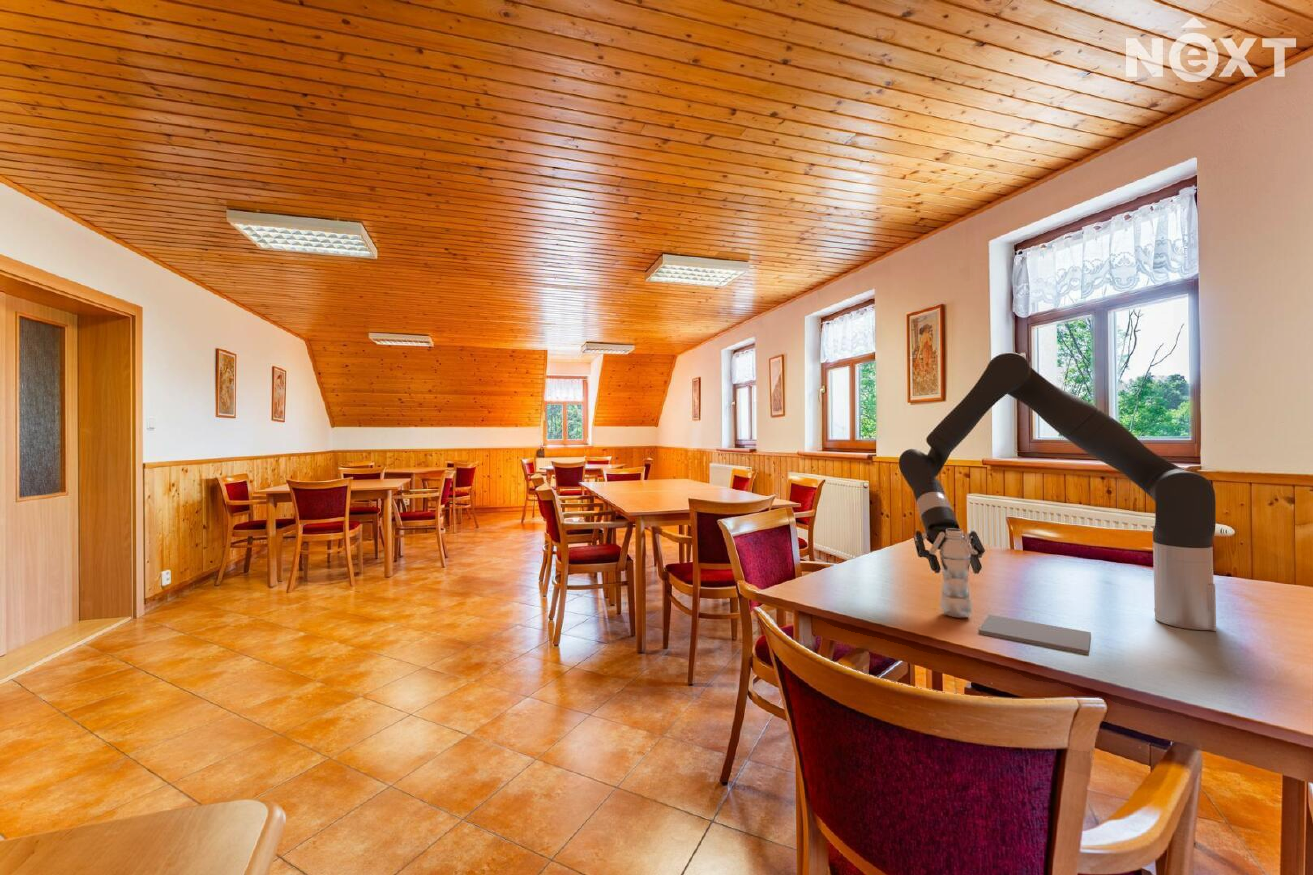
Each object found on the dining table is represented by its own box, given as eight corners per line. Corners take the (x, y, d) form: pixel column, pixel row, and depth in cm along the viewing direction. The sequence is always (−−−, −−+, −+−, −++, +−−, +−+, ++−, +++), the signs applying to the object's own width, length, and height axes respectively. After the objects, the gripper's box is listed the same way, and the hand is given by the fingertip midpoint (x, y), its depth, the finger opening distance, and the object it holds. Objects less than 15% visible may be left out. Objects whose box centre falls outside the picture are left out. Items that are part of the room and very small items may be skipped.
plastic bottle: (975, 615, 123) (973, 529, 123) (968, 623, 118) (966, 533, 118) (945, 609, 127) (943, 526, 127) (936, 617, 122) (934, 530, 122)
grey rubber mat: (1090, 636, 109) (1090, 632, 109) (1088, 654, 100) (1088, 650, 100) (989, 618, 121) (989, 614, 121) (978, 633, 112) (978, 629, 112)
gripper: (910, 505, 131) (929, 562, 120) (971, 504, 129) (996, 563, 118) (903, 523, 136) (921, 579, 125) (962, 523, 135) (985, 580, 123)
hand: (957, 571), depth 121 cm, fingers open, 8 cm apart
